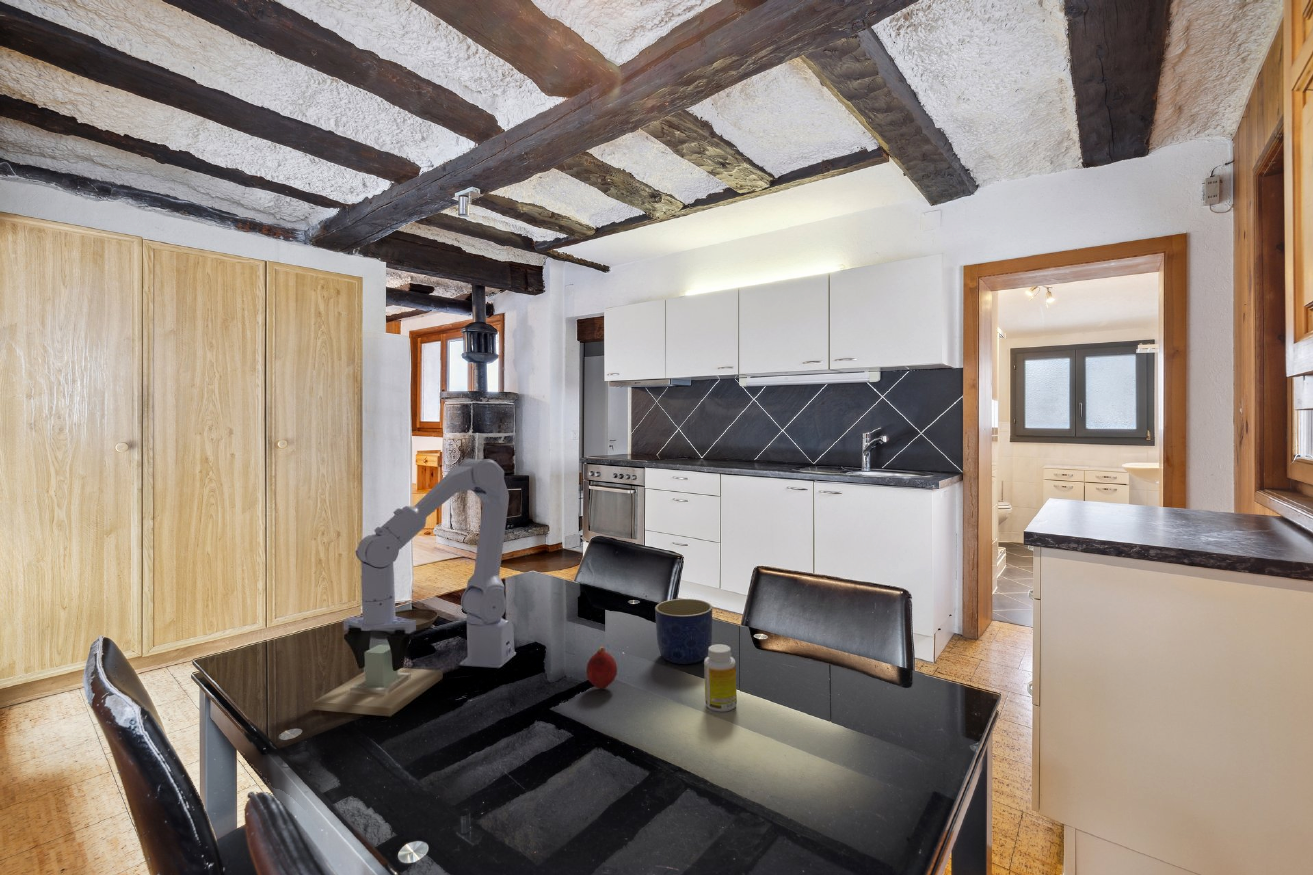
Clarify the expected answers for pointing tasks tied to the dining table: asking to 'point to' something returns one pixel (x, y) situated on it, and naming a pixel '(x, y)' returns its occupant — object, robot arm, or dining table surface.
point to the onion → (601, 669)
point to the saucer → (418, 617)
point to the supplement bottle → (720, 679)
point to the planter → (684, 630)
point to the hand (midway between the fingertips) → (380, 667)
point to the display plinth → (378, 693)
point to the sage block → (379, 667)
